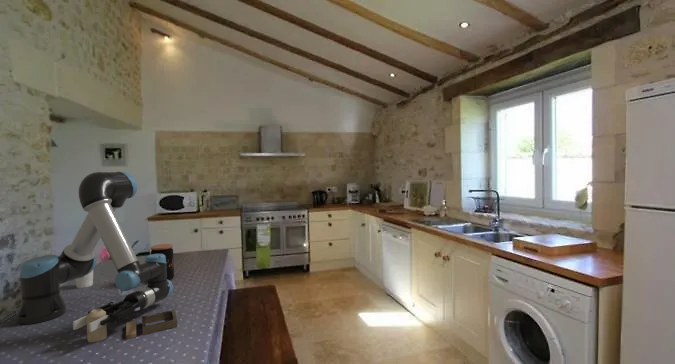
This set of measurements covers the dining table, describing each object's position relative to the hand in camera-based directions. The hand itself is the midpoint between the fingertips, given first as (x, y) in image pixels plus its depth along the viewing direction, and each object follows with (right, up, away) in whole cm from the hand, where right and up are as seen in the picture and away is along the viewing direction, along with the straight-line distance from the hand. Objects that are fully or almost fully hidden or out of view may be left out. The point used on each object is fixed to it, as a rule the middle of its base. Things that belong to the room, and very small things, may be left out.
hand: (82, 326), depth 113 cm
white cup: (-45, -6, +62) cm, 77 cm away
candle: (+1, -6, +5) cm, 8 cm away
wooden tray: (+18, -5, +15) cm, 24 cm away
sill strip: (+10, -6, +10) cm, 16 cm away
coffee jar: (-9, -5, +70) cm, 71 cm away
